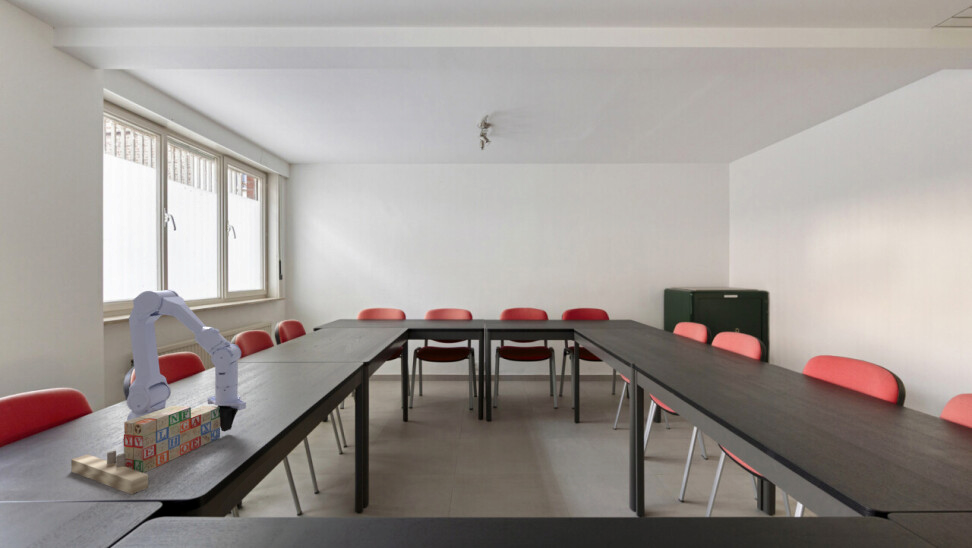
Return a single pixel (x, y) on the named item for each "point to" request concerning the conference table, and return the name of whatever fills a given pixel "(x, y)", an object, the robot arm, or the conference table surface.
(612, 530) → the conference table surface
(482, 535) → the conference table surface
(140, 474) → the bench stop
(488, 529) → the conference table surface
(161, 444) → the stack of blocks
